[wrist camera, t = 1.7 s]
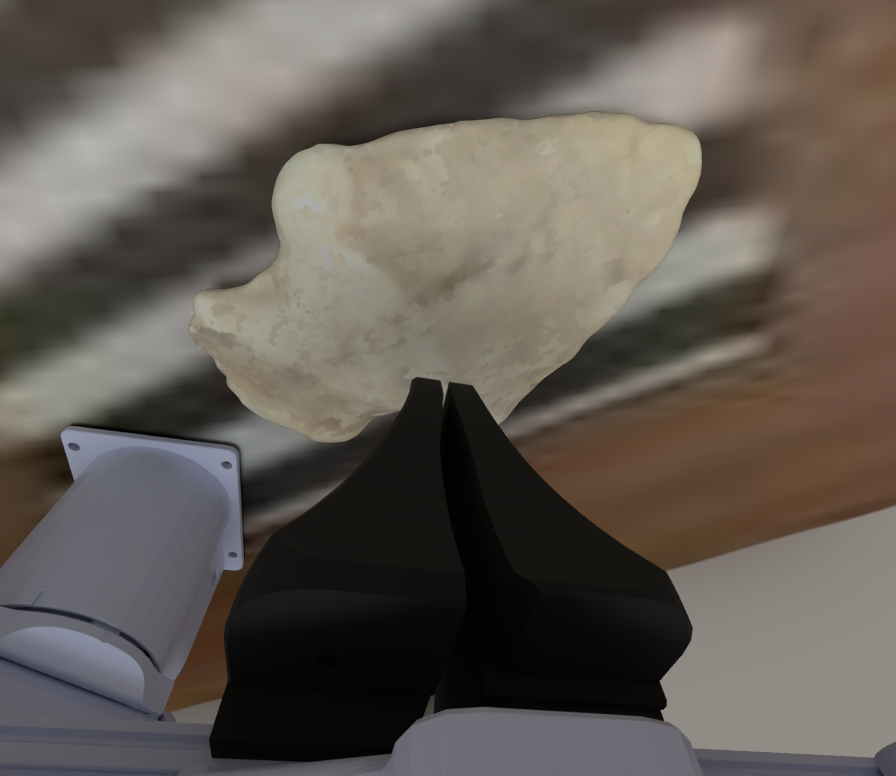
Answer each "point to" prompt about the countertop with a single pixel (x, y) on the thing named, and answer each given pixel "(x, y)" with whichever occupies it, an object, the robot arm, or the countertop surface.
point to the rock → (446, 263)
